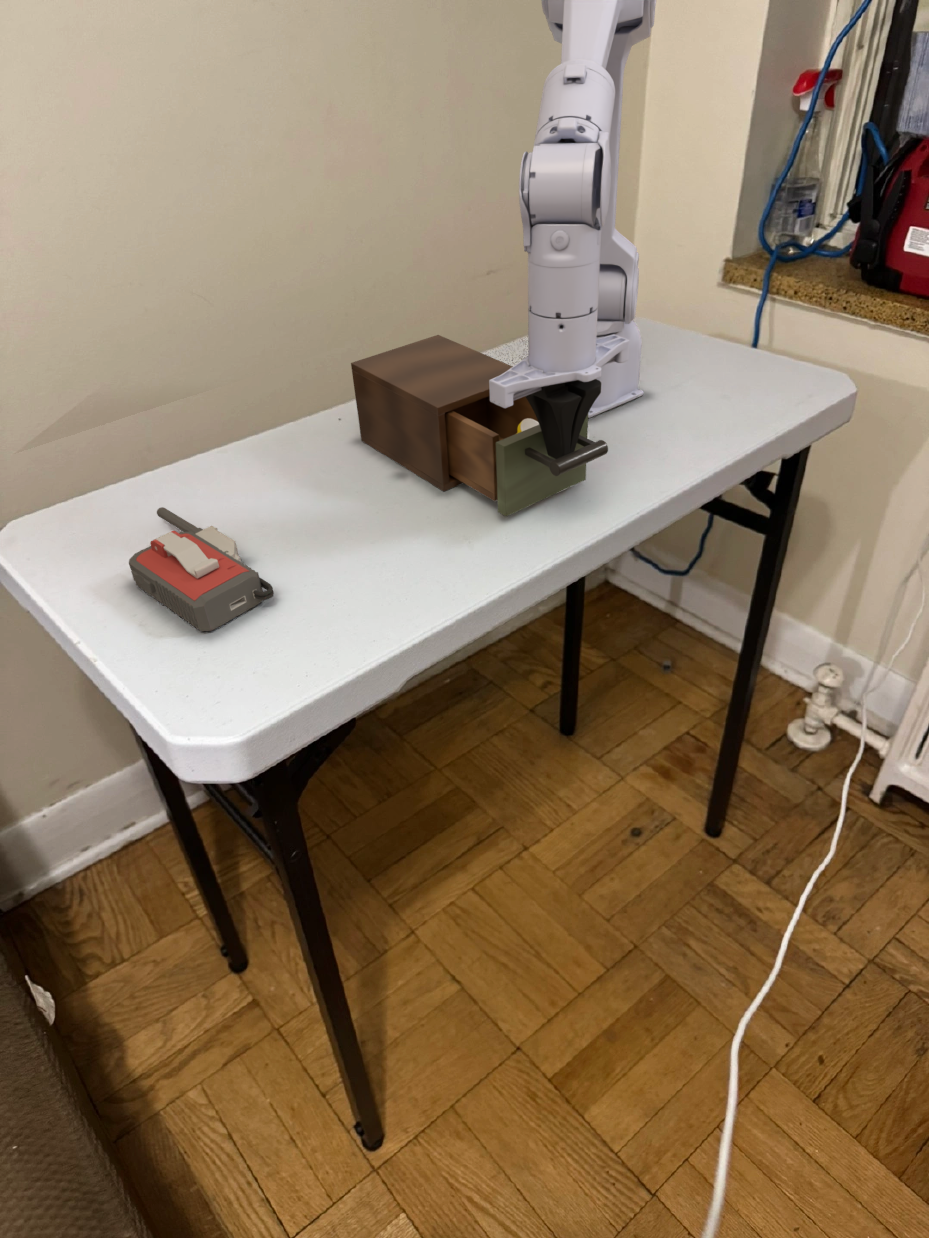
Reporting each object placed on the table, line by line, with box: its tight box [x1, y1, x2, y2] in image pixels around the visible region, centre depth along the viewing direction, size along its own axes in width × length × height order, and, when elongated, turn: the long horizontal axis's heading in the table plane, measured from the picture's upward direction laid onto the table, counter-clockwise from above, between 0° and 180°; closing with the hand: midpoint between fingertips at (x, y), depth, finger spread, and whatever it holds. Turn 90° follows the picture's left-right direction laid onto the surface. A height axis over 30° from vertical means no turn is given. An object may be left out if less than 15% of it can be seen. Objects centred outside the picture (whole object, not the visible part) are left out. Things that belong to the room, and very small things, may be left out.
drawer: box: [445, 396, 609, 518], centre depth 85 cm, size 19×10×7 cm, turn 38°
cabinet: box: [350, 334, 514, 492], centre depth 92 cm, size 16×12×9 cm
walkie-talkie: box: [128, 506, 275, 632], centre depth 77 cm, size 9×4×20 cm
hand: (559, 456), depth 80 cm, fingers closed
